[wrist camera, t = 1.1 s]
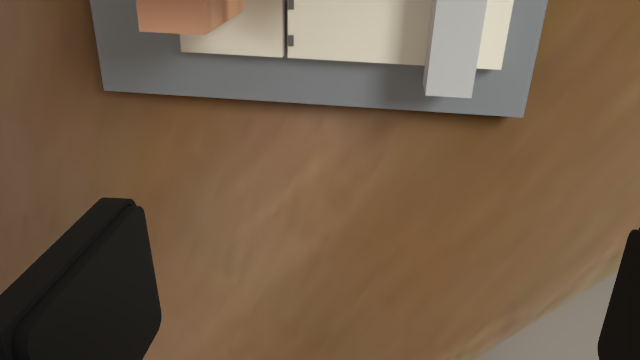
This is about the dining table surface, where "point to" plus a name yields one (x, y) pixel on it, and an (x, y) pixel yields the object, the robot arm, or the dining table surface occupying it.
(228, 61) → the holder
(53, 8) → the dining table surface
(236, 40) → the stub
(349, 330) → the dining table surface
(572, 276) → the dining table surface
